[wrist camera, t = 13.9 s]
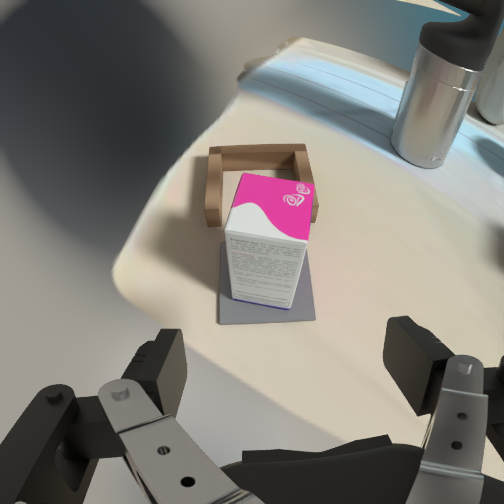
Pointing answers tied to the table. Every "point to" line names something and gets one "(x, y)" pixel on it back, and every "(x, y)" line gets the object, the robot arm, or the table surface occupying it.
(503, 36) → the grey bottle
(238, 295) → the supplement box
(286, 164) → the walnut frame
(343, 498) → the robot arm
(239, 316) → the gray mat
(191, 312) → the table surface
